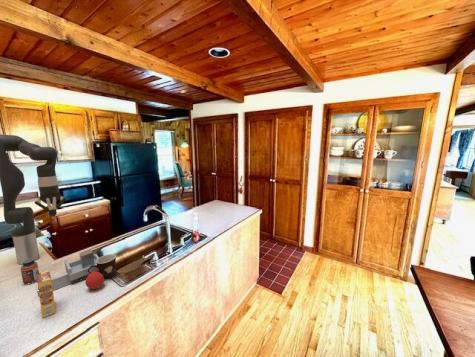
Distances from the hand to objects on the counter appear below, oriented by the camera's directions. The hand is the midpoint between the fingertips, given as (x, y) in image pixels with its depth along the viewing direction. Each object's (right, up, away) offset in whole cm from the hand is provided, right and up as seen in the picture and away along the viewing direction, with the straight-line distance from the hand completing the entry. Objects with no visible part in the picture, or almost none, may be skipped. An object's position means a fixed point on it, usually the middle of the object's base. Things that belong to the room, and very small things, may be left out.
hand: (53, 215), depth 106 cm
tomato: (+32, -33, -11) cm, 47 cm away
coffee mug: (+31, -32, -3) cm, 44 cm away
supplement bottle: (-5, -32, -6) cm, 33 cm away
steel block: (+18, -28, +1) cm, 33 cm away
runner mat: (+14, -32, -4) cm, 35 cm away
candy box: (+21, -35, -24) cm, 48 cm away
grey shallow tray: (+18, -31, 0) cm, 36 cm away
